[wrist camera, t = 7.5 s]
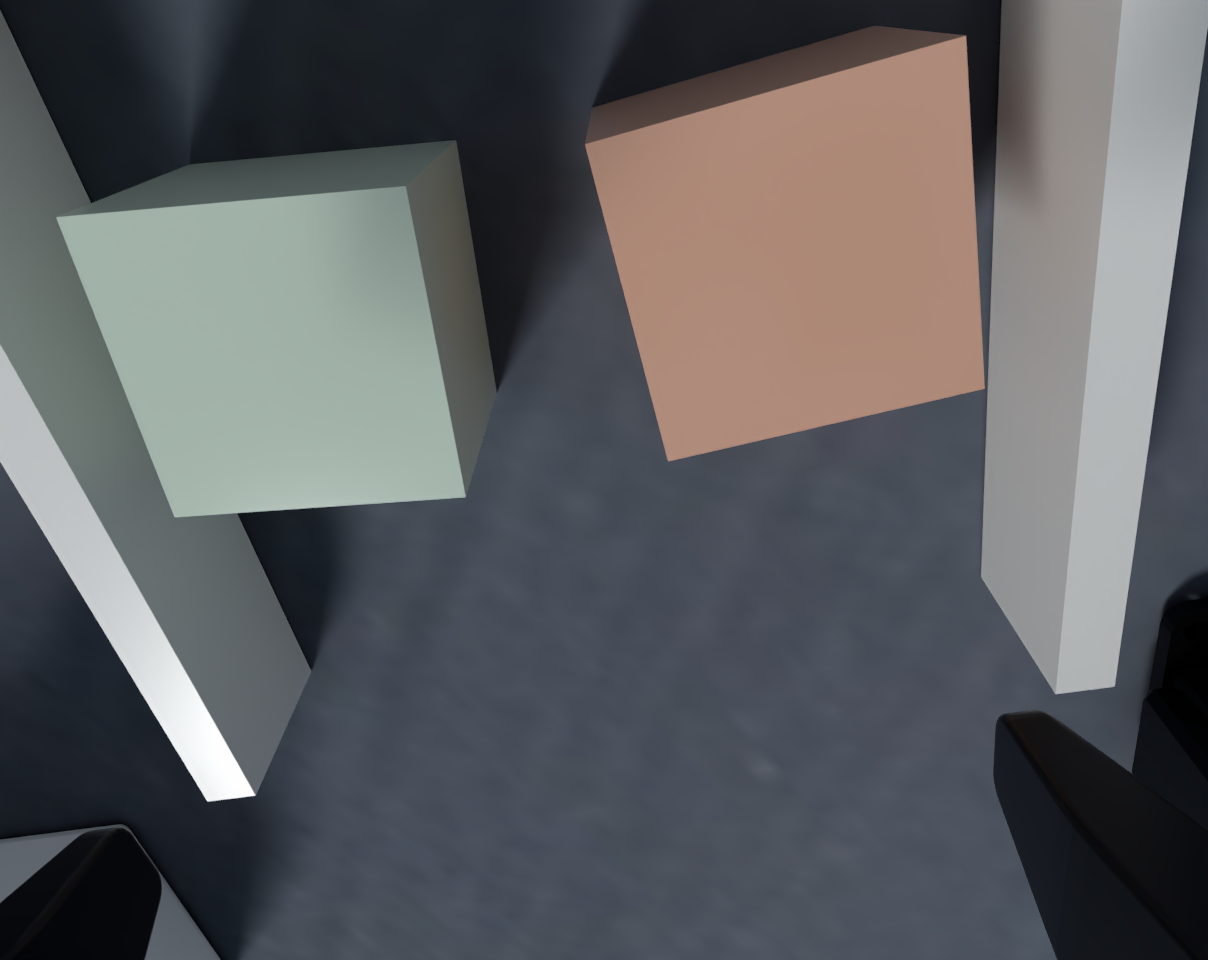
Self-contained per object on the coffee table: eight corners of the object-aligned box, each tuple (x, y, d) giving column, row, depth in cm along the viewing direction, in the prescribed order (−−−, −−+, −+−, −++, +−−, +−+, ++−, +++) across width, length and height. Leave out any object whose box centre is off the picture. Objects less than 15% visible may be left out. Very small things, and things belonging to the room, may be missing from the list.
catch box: (1104, -501, 10) (1311, -710, 7) (1029, 569, 18) (1114, 686, 15) (-157, -171, 12) (-422, -229, 9) (270, 677, 20) (207, 801, 17)
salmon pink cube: (872, 25, 13) (966, 35, 10) (900, 299, 15) (984, 388, 12) (591, 106, 14) (584, 144, 10) (655, 359, 16) (668, 461, 12)
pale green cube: (457, 139, 14) (405, 186, 11) (497, 389, 16) (465, 496, 13) (192, 163, 14) (55, 217, 11) (267, 407, 16) (174, 517, 13)
